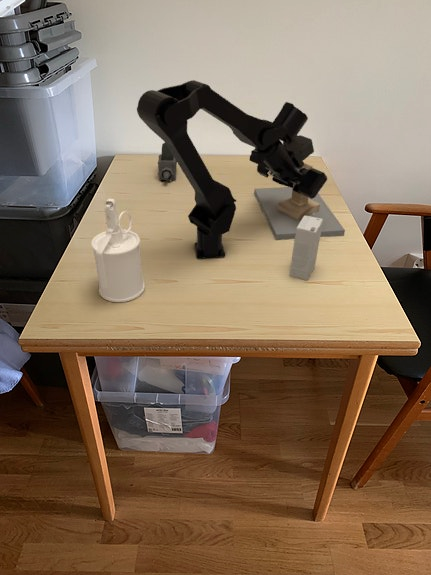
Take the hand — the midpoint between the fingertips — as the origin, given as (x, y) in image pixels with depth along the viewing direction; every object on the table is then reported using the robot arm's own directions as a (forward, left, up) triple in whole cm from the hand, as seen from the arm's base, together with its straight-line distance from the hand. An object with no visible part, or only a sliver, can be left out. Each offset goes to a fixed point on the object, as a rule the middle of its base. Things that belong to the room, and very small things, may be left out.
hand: (304, 190), depth 121 cm
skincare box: (-26, +7, -7) cm, 28 cm away
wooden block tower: (-1, +1, -5) cm, 5 cm away
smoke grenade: (-28, +46, -7) cm, 55 cm away
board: (+1, +1, -7) cm, 7 cm away
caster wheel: (+29, +33, -7) cm, 45 cm away
